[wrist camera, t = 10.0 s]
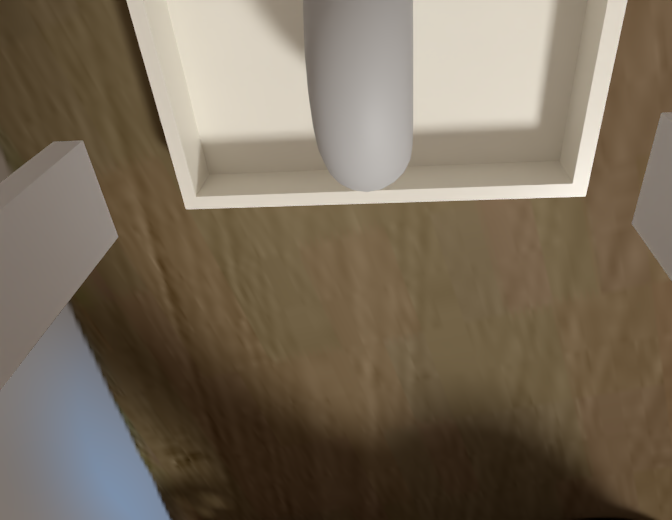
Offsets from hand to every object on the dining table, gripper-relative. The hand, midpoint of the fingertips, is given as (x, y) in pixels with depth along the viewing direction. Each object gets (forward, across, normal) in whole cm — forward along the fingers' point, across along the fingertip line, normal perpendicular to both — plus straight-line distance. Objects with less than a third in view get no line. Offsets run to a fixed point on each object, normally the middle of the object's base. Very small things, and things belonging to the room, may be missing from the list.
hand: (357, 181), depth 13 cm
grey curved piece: (+14, 0, -1) cm, 14 cm away
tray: (+14, 0, -1) cm, 15 cm away
